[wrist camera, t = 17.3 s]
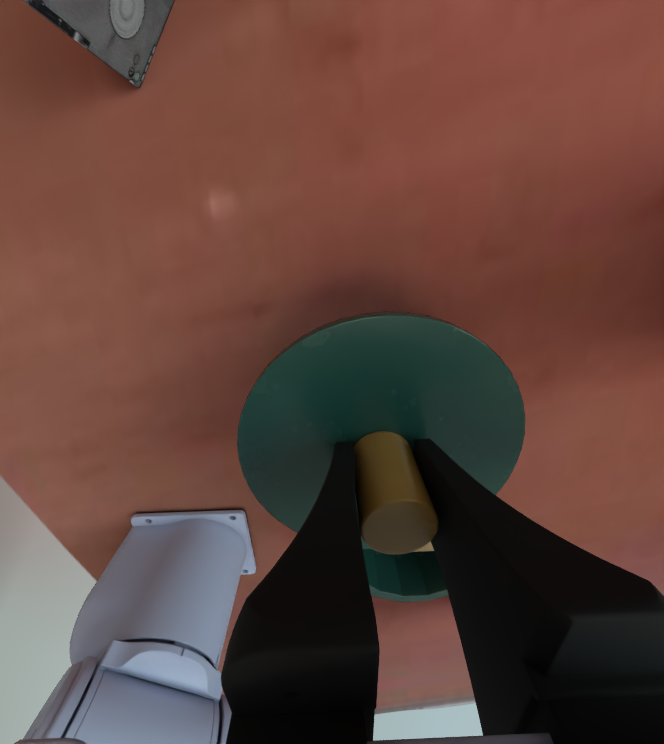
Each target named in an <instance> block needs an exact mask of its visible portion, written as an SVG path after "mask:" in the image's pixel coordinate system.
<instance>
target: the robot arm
mask: <svg viewBox="0 0 664 744" xmlns="http://www.w3.org/2000/svg"><path fill="white" fill-rule="evenodd" d="M413 455H414V457H415V460H416V462H417V465H418V468H419V470H420V473H421V475H422V478H423V480H424V483H425V485H426V488H427V490H428V493H429V495H430V498H431V500H432V503H433V505H434V508H435V510H436V513H437V516H438V520H439V525H438V530H437V533H436V535H435V536H434V538H433V539H432V540H431V544H432V546H433V549H434V552H435V554H436V557H437V559H438V562H439V565H440V568H441V571H442V574H443V577H444V581H445V584H446V588H447V591H448V595H449V598H450V602H451V605H452V609H453V613H454V617H455V620H456V624H457V628H458V632H459V635H460V639H461V643H462V647H463V651H464V655H465V659H466V663H467V667H468V671H469V675H470V679H471V684H472V688H473V692H474V697H475V701H476V705H477V709H478V714H479V718H480V723H481V727H482V732H483V736H468V737H445V738H424V739H401V740H382V741H381V740H380V741H373V727H374V710H375V709H376V700H377V683H378V667H379V641H378V633H377V625H376V618H375V612H374V607H373V602H372V597H371V592H370V587H369V581H368V576H367V570H366V564H365V558H364V553H363V547H362V540H361V534H360V527H359V521H358V514H357V507H356V497H355V450H354V445H353V442H337V443H336V444H334V453H333V457H332V461H331V465H330V468H329V471H328V473H327V476H326V479H325V482H324V484H323V486H322V489H321V491H320V493H319V495H318V498H317V500H316V502H315V504H314V506H313V508H312V510H311V511H310V513H309V515H308V517H307V519H306V520H305V522H304V524H303V525H302V527H301V529H300V530H299V532H298V533H297V535H296V537H295V538H294V540H293V541H292V543H291V544H290V545H289V547H288V548H287V550H286V551H285V552H284V554H283V555H282V556H281V558H280V559H279V560H278V562H277V563H276V564H275V566H274V567H273V568H272V569H271V571H270V572H269V573H268V574H267V575H266V577H265V578H264V579H263V580H262V581H261V582H260V584H259V585H258V586H257V587H256V588H255V589H254V590H253V592H252V593H251V594H250V595H249V596H248V597H247V599H246V601H245V603H244V605H243V607H242V610H241V612H240V614H239V616H238V619H237V622H236V624H235V627H234V629H233V632H232V635H231V638H230V641H229V645H228V648H227V653H226V657H225V661H224V665H223V670H222V672H220V671H218V670H217V669H218V665H219V660H220V656H221V652H222V648H223V644H224V640H225V636H226V632H227V628H228V624H229V620H230V616H231V612H232V608H233V604H234V599H235V595H236V591H237V587H238V583H239V579H240V575H243V574H254V573H255V572H256V562H255V558H254V553H253V548H252V543H251V538H250V533H249V528H248V523H247V519H246V514H245V512H244V511H242V510H224V511H197V512H170V513H143V514H134V515H133V516H132V518H131V519H130V521H131V523H132V526H133V527H132V529H131V530H130V532H129V533H128V535H127V536H126V538H125V539H124V541H123V542H122V544H121V545H120V547H119V549H118V550H117V552H116V553H115V555H114V556H113V558H112V559H111V561H110V562H109V564H108V565H107V567H106V569H105V570H104V572H103V573H102V575H101V576H100V578H99V579H98V581H97V582H96V584H95V586H94V587H93V589H92V590H91V592H90V593H89V595H88V597H87V598H86V600H85V602H84V604H83V606H82V608H81V610H80V612H79V615H78V617H77V620H76V622H75V626H74V628H73V632H72V636H71V641H70V659H71V663H72V666H71V667H70V668H69V669H68V670H67V671H66V673H65V674H64V675H63V677H62V678H61V680H60V681H59V683H58V684H57V686H56V687H55V689H54V690H53V692H52V693H51V695H50V697H49V698H48V700H47V701H46V703H45V705H44V706H43V708H42V709H41V711H40V712H39V714H38V716H37V717H36V719H35V720H34V722H33V724H32V725H31V727H30V729H29V730H28V732H27V733H26V735H25V737H24V738H23V740H19V741H18V742H16V743H15V744H664V596H663V595H662V594H661V593H660V592H659V591H658V589H657V588H656V587H655V586H654V585H653V584H652V583H651V582H650V581H648V580H646V579H644V578H642V577H639V576H637V575H635V574H633V573H631V572H629V571H626V570H624V569H622V568H620V567H618V566H616V565H613V564H611V563H609V562H607V561H605V560H603V559H601V558H599V557H597V556H595V555H593V554H591V553H589V552H587V551H585V550H583V549H581V548H579V547H577V546H575V545H574V544H572V543H570V542H568V541H566V540H564V539H563V538H561V537H559V536H557V535H555V534H554V533H552V532H550V531H549V530H547V529H545V528H544V527H542V526H540V525H539V524H537V523H535V522H534V521H532V520H531V519H529V518H527V517H526V516H524V515H523V514H521V513H520V512H518V511H517V510H515V509H514V508H512V507H511V506H510V505H508V504H507V503H505V502H504V501H502V500H501V499H500V498H498V497H497V496H495V495H494V494H493V493H492V492H490V491H489V490H488V489H486V488H485V487H484V486H483V485H481V484H480V483H479V482H478V481H476V480H475V479H474V478H473V477H472V476H470V475H469V474H468V473H467V472H466V471H465V470H464V469H462V468H461V467H460V466H459V465H458V464H457V463H456V462H455V461H454V460H452V459H451V458H450V457H449V456H448V455H447V454H446V453H445V452H444V451H443V450H442V449H441V448H440V447H439V446H438V445H436V444H435V443H434V442H433V441H432V440H431V439H430V438H429V439H414V447H413ZM222 689H223V691H224V694H225V695H223V694H222Z"/></svg>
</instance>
